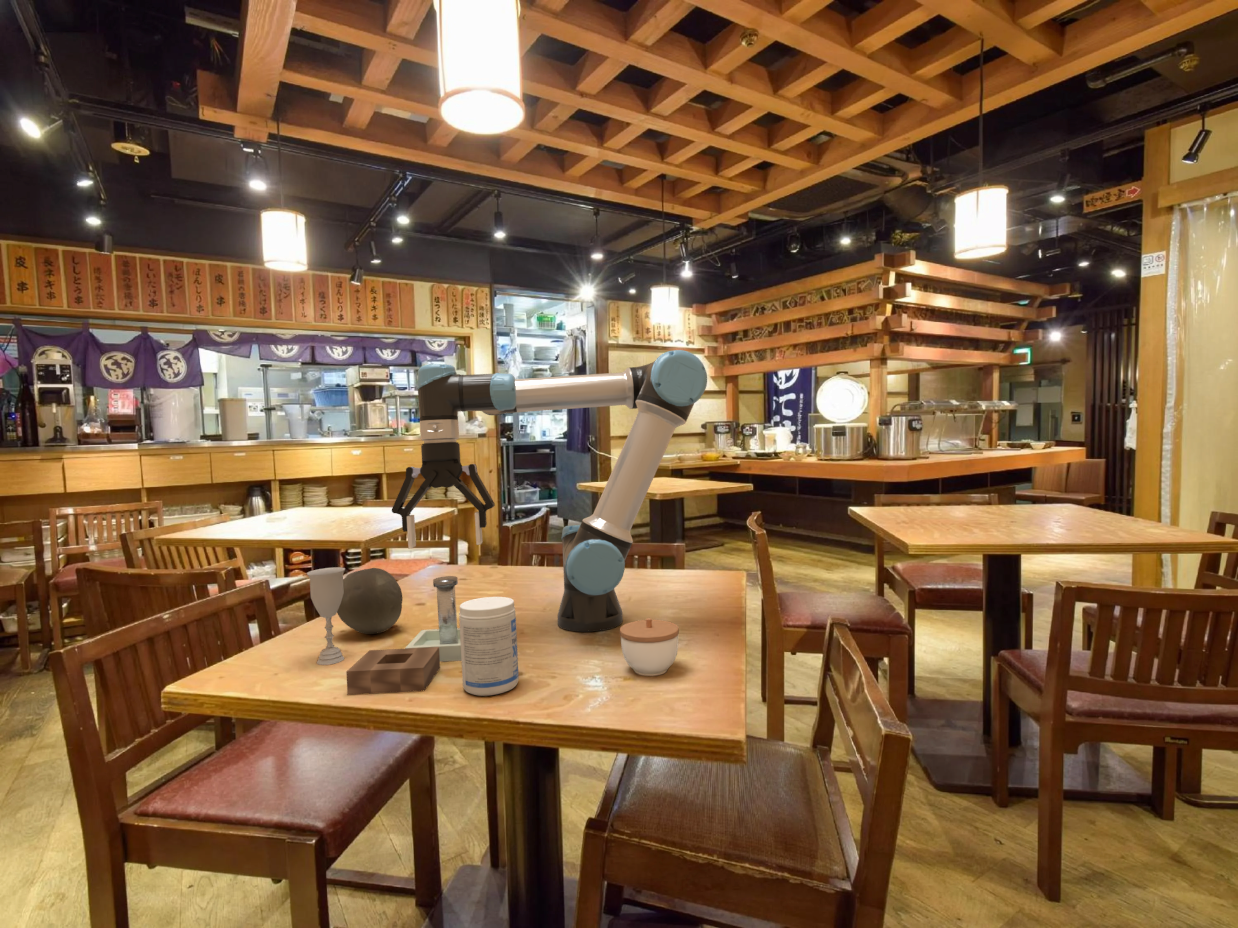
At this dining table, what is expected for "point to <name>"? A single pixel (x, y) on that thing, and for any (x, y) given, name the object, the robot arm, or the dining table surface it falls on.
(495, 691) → the supplement tub
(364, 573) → the dark grey ball
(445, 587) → the metal pin
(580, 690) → the dining table surface
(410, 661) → the block
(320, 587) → the chalice
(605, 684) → the dining table surface
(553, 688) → the dining table surface
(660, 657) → the lidded jar
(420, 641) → the tray
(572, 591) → the robot arm
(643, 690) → the dining table surface
